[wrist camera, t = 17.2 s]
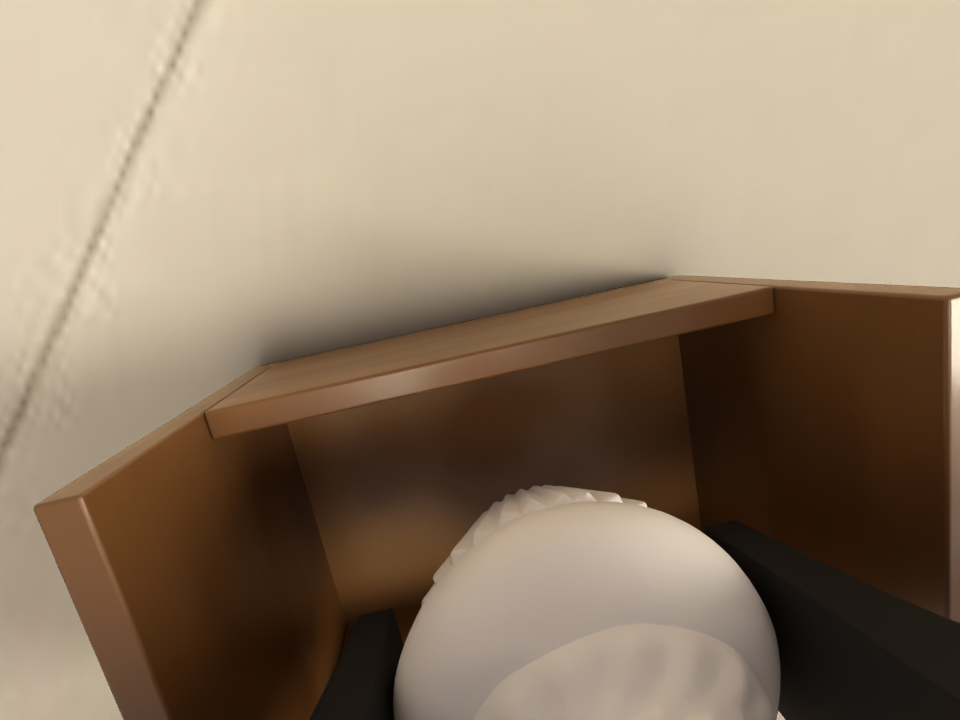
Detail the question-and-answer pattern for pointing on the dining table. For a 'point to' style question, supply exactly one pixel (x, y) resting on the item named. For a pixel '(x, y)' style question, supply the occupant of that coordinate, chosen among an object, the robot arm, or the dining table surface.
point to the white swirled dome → (588, 620)
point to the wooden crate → (509, 470)
